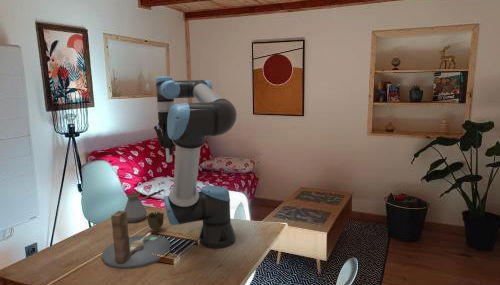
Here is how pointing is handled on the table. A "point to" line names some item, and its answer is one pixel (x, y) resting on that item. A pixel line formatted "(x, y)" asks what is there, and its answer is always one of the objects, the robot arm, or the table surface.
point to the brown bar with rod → (123, 237)
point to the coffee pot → (136, 207)
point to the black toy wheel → (155, 221)
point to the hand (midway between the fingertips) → (169, 161)
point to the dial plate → (139, 252)
